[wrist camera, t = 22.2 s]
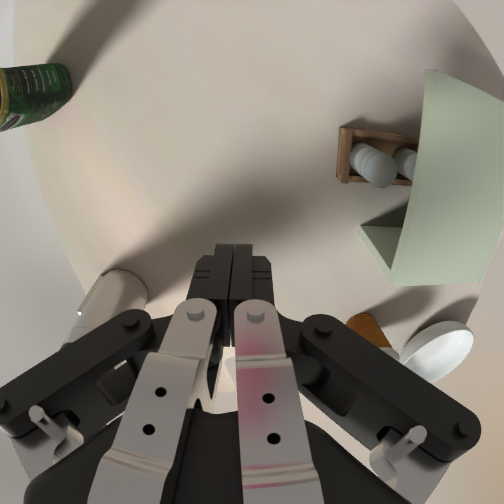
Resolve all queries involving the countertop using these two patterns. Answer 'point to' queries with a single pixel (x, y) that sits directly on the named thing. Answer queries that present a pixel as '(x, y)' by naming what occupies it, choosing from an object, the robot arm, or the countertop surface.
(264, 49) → the countertop surface
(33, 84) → the coffee jar
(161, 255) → the countertop surface
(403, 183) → the tray
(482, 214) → the sage green storage bin
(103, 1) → the countertop surface
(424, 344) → the serving bowl
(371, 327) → the disposable coffee cup
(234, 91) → the countertop surface
